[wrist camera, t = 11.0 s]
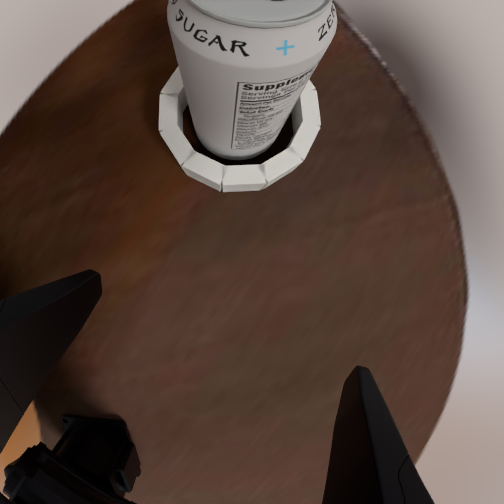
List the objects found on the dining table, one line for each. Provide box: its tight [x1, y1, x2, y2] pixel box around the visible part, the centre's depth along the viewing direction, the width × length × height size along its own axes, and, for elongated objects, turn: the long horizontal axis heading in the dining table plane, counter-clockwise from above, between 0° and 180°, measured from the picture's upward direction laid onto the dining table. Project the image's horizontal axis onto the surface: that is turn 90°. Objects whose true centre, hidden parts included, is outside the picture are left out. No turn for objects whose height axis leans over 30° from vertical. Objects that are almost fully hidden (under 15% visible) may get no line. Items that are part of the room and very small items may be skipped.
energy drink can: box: [167, 0, 337, 160], centre depth 14 cm, size 6×6×15 cm
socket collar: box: [159, 66, 321, 192], centre depth 20 cm, size 10×10×3 cm
